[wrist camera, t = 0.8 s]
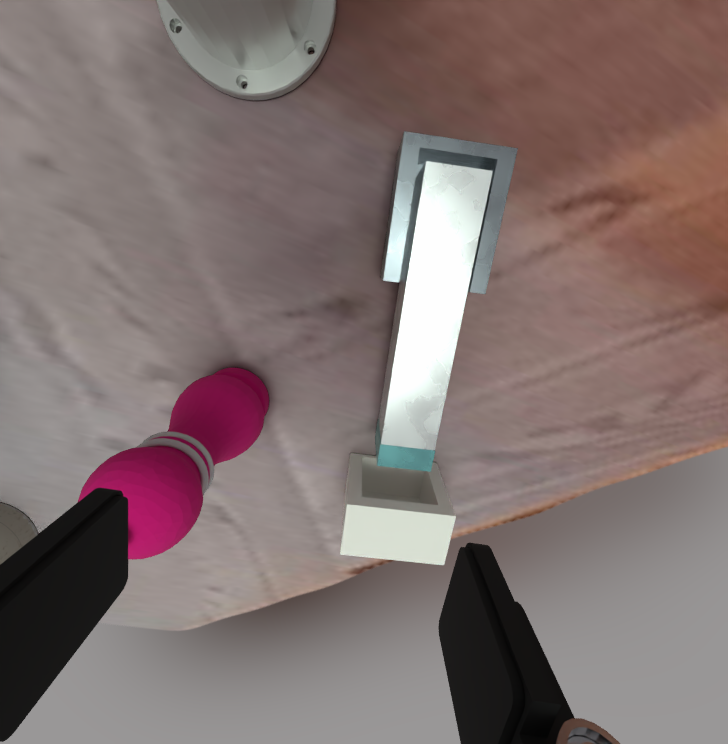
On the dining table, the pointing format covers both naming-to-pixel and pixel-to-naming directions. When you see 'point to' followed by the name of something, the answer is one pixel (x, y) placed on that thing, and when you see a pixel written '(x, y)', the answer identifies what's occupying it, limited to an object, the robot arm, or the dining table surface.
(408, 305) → the grey rectangular bar
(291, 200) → the dining table surface
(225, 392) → the pepper mill
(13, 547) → the thermos bottle
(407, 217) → the sleeve
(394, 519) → the socket block
